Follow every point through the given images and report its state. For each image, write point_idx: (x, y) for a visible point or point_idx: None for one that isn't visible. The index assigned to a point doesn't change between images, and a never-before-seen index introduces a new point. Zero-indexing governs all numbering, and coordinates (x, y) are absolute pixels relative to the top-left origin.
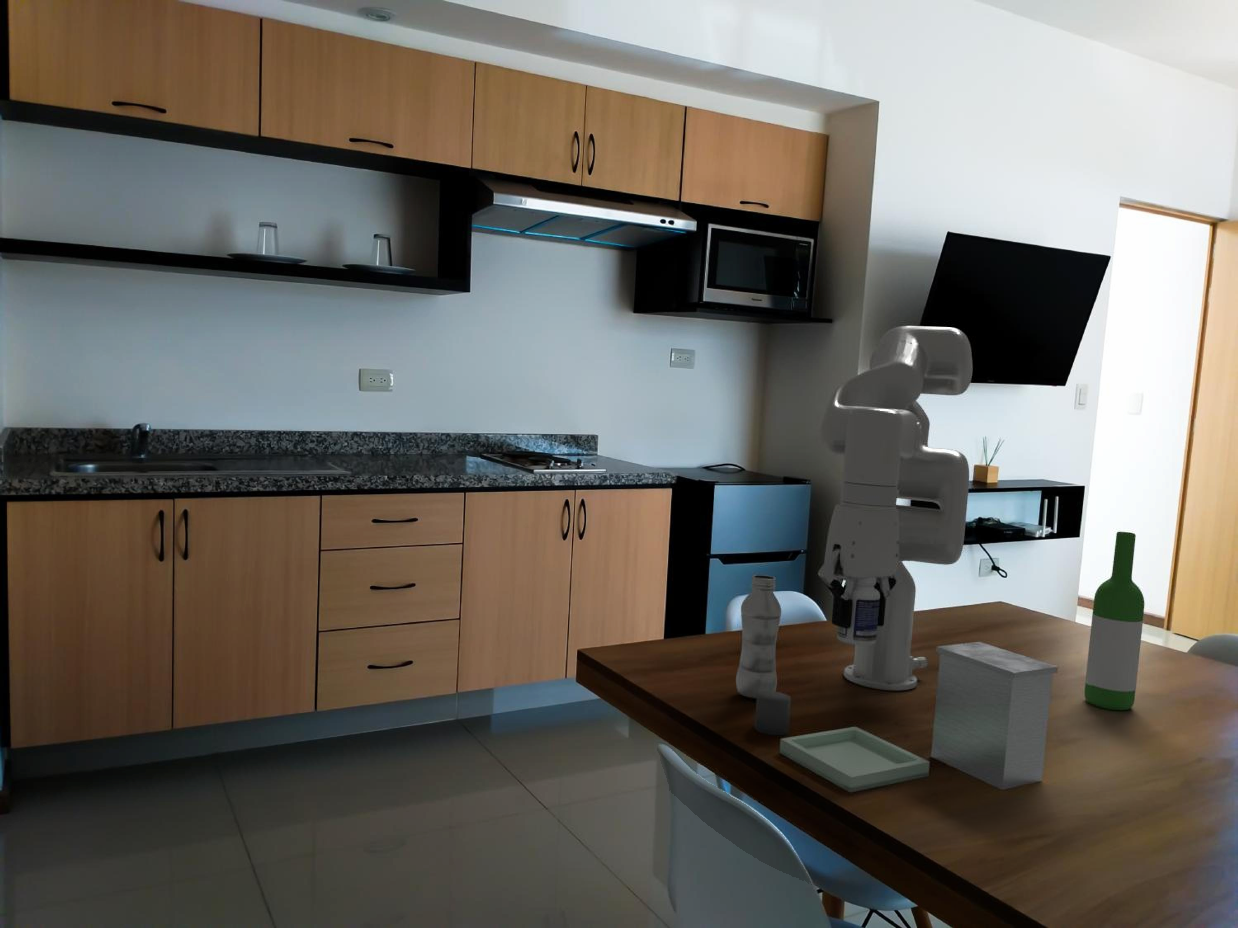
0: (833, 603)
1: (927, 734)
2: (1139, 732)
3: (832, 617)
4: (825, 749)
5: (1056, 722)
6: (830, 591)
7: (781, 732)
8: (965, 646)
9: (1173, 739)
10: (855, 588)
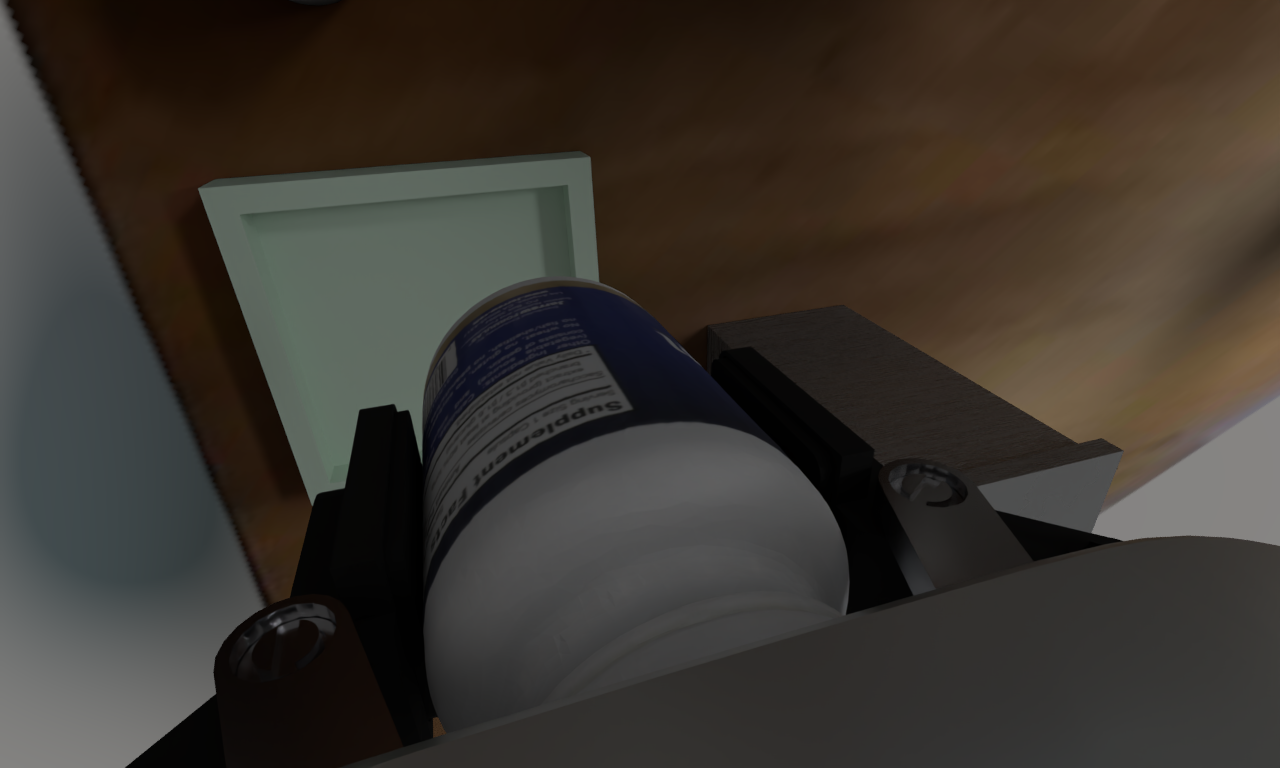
0: (296, 578)
1: (835, 179)
2: (1247, 307)
3: (359, 430)
4: (398, 233)
5: (1193, 204)
6: (179, 724)
7: (311, 4)
8: (1004, 509)
9: (1247, 353)
10: None
